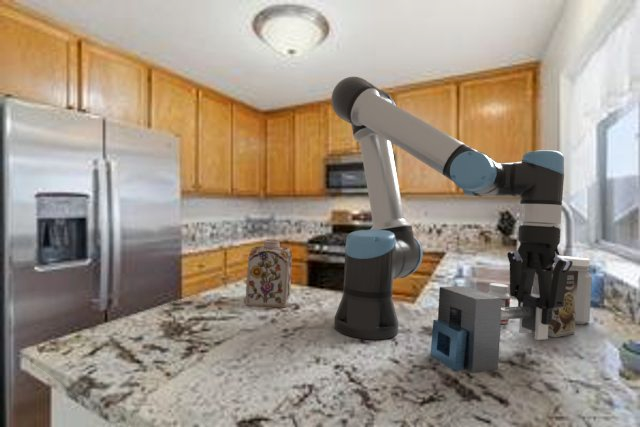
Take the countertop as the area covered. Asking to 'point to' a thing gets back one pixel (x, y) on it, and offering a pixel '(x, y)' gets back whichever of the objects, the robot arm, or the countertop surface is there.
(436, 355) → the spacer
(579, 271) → the jar
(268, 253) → the decorative jar
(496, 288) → the pill bottle
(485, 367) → the block
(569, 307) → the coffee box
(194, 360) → the countertop surface
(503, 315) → the shaft
